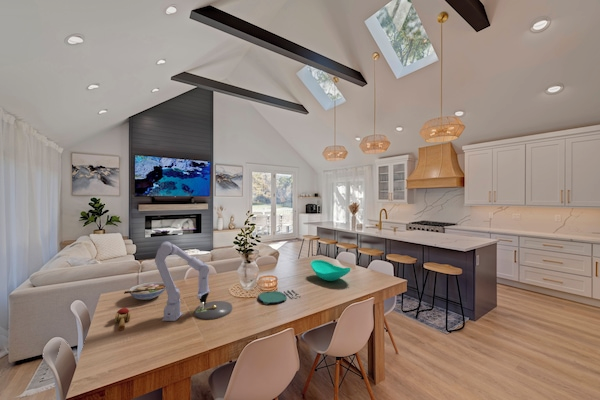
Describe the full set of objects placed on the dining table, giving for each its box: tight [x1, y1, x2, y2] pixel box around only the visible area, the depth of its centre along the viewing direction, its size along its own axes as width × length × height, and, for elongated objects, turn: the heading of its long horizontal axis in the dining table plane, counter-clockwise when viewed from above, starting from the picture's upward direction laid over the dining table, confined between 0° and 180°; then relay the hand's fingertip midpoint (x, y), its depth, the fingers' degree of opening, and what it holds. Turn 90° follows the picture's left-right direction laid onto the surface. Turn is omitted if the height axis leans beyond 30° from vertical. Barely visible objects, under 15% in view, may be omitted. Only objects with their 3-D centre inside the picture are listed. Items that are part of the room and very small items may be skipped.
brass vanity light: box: [197, 301, 217, 311], centre depth 151 cm, size 11×3×5 cm, turn 118°
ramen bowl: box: [123, 281, 166, 301], centre depth 170 cm, size 25×23×8 cm
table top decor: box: [310, 259, 352, 282], centre depth 216 cm, size 40×28×13 cm
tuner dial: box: [194, 300, 233, 320], centre depth 153 cm, size 22×22×2 cm
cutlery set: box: [257, 289, 300, 306], centre depth 175 cm, size 20×30×2 cm, turn 117°
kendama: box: [114, 307, 132, 332], centre depth 136 cm, size 8×6×18 cm
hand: (203, 305), depth 152 cm, fingers closed
